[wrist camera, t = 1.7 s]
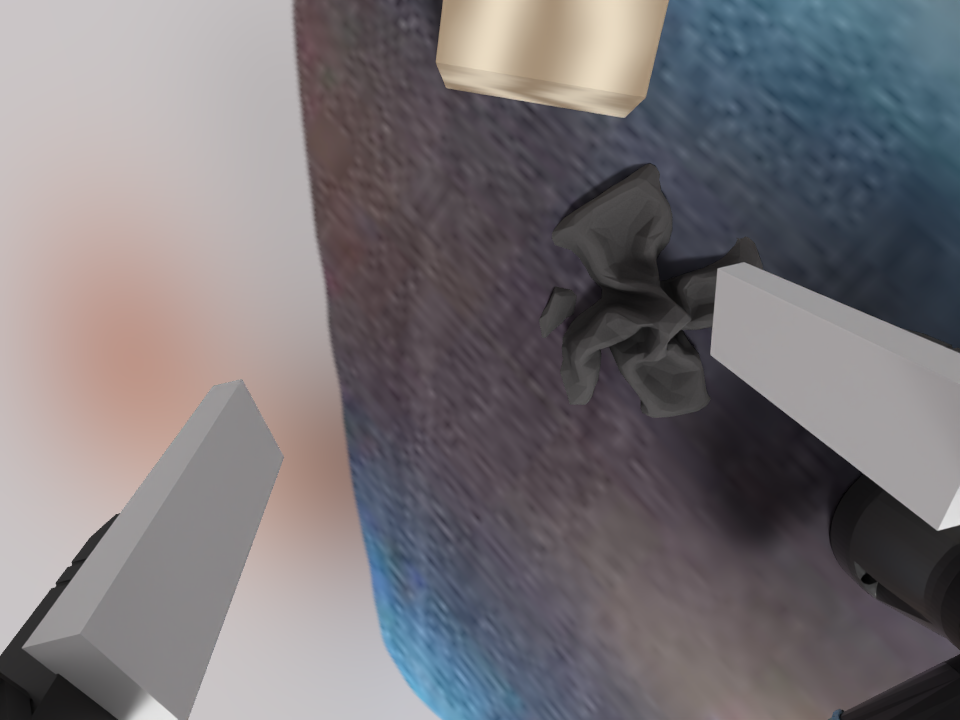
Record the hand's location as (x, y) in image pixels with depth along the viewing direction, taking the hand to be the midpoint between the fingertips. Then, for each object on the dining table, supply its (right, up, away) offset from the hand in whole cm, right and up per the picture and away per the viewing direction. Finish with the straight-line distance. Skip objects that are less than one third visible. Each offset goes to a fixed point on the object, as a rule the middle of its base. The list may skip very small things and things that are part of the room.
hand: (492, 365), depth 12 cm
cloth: (+12, +3, +24) cm, 27 cm away
